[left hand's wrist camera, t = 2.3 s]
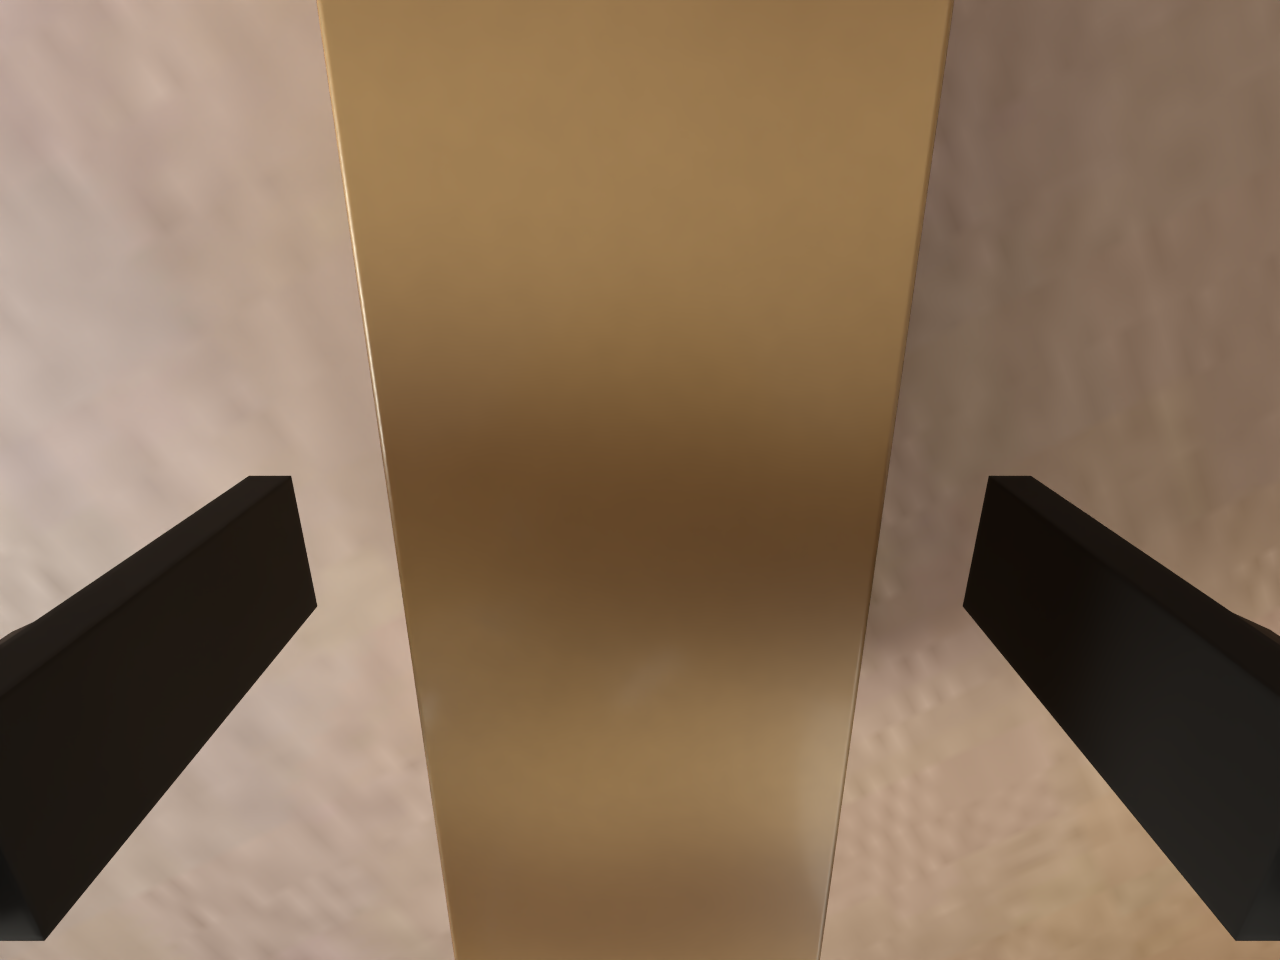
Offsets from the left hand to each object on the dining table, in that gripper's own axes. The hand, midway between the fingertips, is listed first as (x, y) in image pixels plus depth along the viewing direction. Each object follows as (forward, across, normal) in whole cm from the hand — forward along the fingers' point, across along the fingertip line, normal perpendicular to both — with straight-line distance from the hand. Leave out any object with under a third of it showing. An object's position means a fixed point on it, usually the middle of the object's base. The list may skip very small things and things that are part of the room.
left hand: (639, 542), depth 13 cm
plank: (+3, 0, -22) cm, 22 cm away
